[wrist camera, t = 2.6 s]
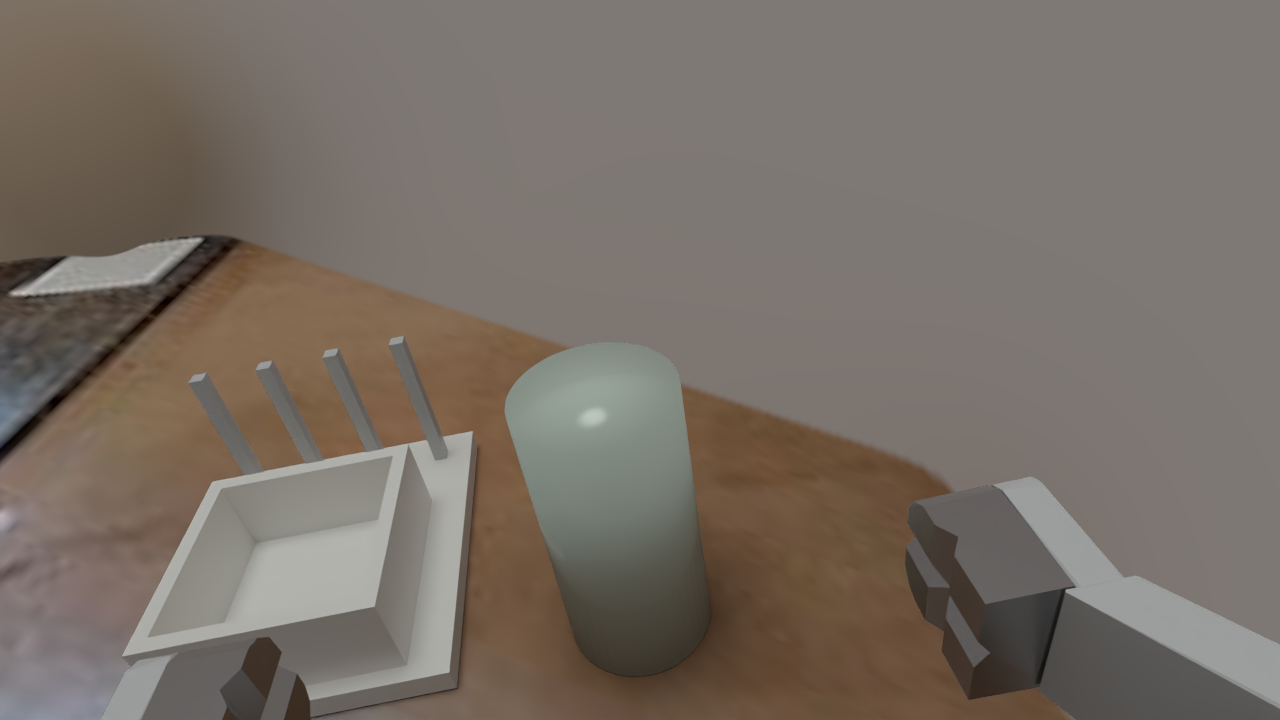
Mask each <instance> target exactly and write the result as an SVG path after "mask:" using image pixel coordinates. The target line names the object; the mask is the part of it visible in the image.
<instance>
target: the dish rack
mask: <svg viewBox="0 0 1280 720" xmlns="http://www.w3.org/2000/svg"><path fill="white" fill-rule="evenodd" d="M389 347H390V349H391V352H392V354H393V357H394V359H395V362H396V364H397V367H398V369H399V372H400V374H401V377H402V379H403V382H404V384H405V387H406V389H407V392H408V394H409V397H410V399H411V402H412V404H413V407H414V409H415V412H416V414H417V417H418V419H419V422H420V424H421V427H422V429H423V432H424V434H425V437H426V439H427V440H424V441H419V442H414V443H409V444H404V445H398V446H393V447H388V448H383V446H382V444H381V441H380V439H379V437H378V435H377V433H376V430H375V428H374V426H373V424H372V421H371V419H370V417H369V415H368V413H367V410H366V408H365V406H364V404H363V401H362V399H361V397H360V395H359V393H358V390H357V388H356V386H355V384H354V381H353V379H352V377H351V375H350V372H349V370H348V368H347V366H346V364H345V361H344V359H343V357H342V355H341V352H340V350H339V348H337V349H331V350H326V351H325V353H324V355H323V360H324V362H325V364H326V367H327V369H328V371H329V373H330V375H331V377H332V379H333V382H334V384H335V386H336V388H337V390H338V392H339V394H340V396H341V399H342V401H343V403H344V405H345V407H346V409H347V411H348V414H349V416H350V418H351V420H352V422H353V424H354V426H355V428H356V431H357V433H358V435H359V437H360V439H361V441H362V443H363V446H364V448H365V450H366V452H362V453H357V454H351V455H346V456H341V457H336V458H330V459H325V460H324V459H323V457H322V455H321V453H320V451H319V449H318V447H317V445H316V443H315V441H314V439H313V437H312V435H311V433H310V432H309V430H308V428H307V426H306V424H305V422H304V420H303V418H302V416H301V414H300V412H299V410H298V408H297V406H296V404H295V403H294V401H293V399H292V397H291V395H290V393H289V391H288V389H287V387H286V385H285V383H284V381H283V379H282V377H281V375H280V374H279V372H278V370H277V368H276V366H275V364H274V362H273V361H267V362H262V363H259V365H258V367H257V369H256V372H257V374H258V376H259V378H260V380H261V382H262V383H263V385H264V387H265V389H266V391H267V393H268V395H269V396H270V398H271V400H272V402H273V404H274V406H275V408H276V409H277V411H278V413H279V415H280V417H281V419H282V421H283V422H284V424H285V426H286V428H287V430H288V432H289V434H290V435H291V437H292V439H293V441H294V443H295V445H296V447H297V448H298V450H299V452H300V454H301V456H302V458H303V460H304V461H305V463H304V464H299V465H294V466H289V467H283V468H278V469H273V470H268V471H264V470H263V468H262V466H261V465H260V463H259V461H258V460H257V458H256V456H255V455H254V453H253V451H252V449H251V448H250V446H249V444H248V443H247V441H246V439H245V437H244V436H243V434H242V432H241V431H240V429H239V427H238V426H237V424H236V422H235V420H234V419H233V417H232V415H231V414H230V412H229V410H228V408H227V407H226V405H225V403H224V402H223V400H222V398H221V397H220V395H219V393H218V391H217V390H216V388H215V386H214V385H213V383H212V381H211V379H210V378H209V376H208V374H207V373H203V374H198V375H193V377H192V378H191V380H190V381H189V385H190V387H191V388H192V390H193V392H194V393H195V395H196V396H197V398H198V400H199V401H200V403H201V405H202V406H203V408H204V410H205V411H206V413H207V415H208V416H209V418H210V419H211V421H212V423H213V424H214V426H215V428H216V429H217V431H218V433H219V434H220V436H221V437H222V439H223V441H224V442H225V444H226V446H227V447H228V449H229V451H230V452H231V454H232V456H233V457H234V459H235V460H236V462H237V464H238V465H239V467H240V469H241V470H242V472H243V474H244V476H240V477H235V478H229V479H224V480H219V481H214V482H212V484H211V485H210V487H209V489H208V491H207V493H206V495H205V497H204V499H203V501H202V503H201V505H200V507H199V509H198V511H197V512H196V514H195V516H194V518H193V520H192V522H191V524H190V526H189V528H188V530H187V532H186V534H185V536H184V538H183V539H182V541H181V543H180V545H179V547H178V549H177V551H176V553H175V555H174V557H173V559H172V561H171V563H170V565H169V566H168V568H167V570H166V572H165V574H164V576H163V578H162V580H161V582H160V584H159V586H158V588H157V590H156V592H155V594H154V595H153V597H152V599H151V601H150V603H149V605H148V607H147V609H146V611H145V613H144V615H143V617H142V619H141V621H140V622H139V624H138V626H137V628H136V630H135V632H134V634H133V636H132V638H131V640H130V642H129V644H128V646H127V648H126V649H125V651H124V653H123V655H122V657H123V658H124V659H125V661H126V662H127V663H128V664H129V665H130V666H131V667H132V666H133V665H134V664H135V663H136V662H137V661H138V660H142V659H147V658H152V657H158V656H163V655H168V654H173V653H179V652H183V651H188V650H194V649H199V648H205V647H210V646H216V645H222V644H227V643H233V642H238V641H244V640H249V639H255V638H262V637H270V638H271V640H272V641H273V642H274V643H275V644H276V646H277V647H278V648H279V649H280V651H281V652H282V654H281V657H280V660H279V663H278V666H280V667H283V668H285V669H288V670H290V671H292V672H295V673H297V674H298V676H299V677H300V678H301V680H302V681H303V683H304V684H305V686H306V690H307V693H308V696H309V699H310V717H315V716H320V715H325V714H330V713H335V712H340V711H345V710H350V709H354V708H359V707H364V706H369V705H374V704H379V703H384V702H389V701H394V700H399V699H404V698H409V697H414V696H419V695H424V694H429V693H434V692H439V691H444V690H449V689H454V688H457V682H458V670H459V659H460V647H461V635H462V624H463V612H464V601H465V589H466V577H467V566H468V554H469V542H470V531H471V519H472V507H473V496H474V484H475V472H476V461H477V449H478V445H477V442H476V439H475V436H474V433H473V431H471V432H466V433H461V434H456V435H451V436H445V437H443V436H442V433H441V431H440V428H439V426H438V423H437V420H436V418H435V415H434V413H433V410H432V407H431V405H430V402H429V400H428V397H427V394H426V392H425V389H424V387H423V384H422V381H421V379H420V376H419V374H418V371H417V368H416V366H415V363H414V361H413V358H412V355H411V353H410V350H409V348H408V345H407V342H406V340H405V337H404V336H401V337H396V338H391V340H390V343H389Z"/></svg>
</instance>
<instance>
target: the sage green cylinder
mask: <svg viewBox="0 0 1280 720" xmlns="http://www.w3.org/2000/svg"><path fill="white" fill-rule="evenodd" d="M505 417H506V420H507V424H508V427H509V430H510V433H511V436H512V440H513V443H514V446H515V449H516V452H517V456H518V459H519V462H520V465H521V468H522V471H523V475H524V478H525V481H526V484H527V487H528V491H529V494H530V497H531V500H532V503H533V507H534V510H535V513H536V516H537V519H538V523H539V526H540V529H541V532H542V535H543V539H544V542H545V545H546V548H547V551H548V554H549V558H550V561H551V564H552V567H553V570H554V574H555V577H556V580H557V583H558V586H559V590H560V593H561V596H562V599H563V602H564V606H565V609H566V612H567V615H568V618H569V622H570V625H571V628H572V631H573V634H574V637H575V640H576V643H577V645H578V647H579V648H580V650H581V651H582V653H583V654H584V655H585V657H586V658H588V659H589V660H590V661H591V662H592V663H593V664H595V665H596V666H598V667H599V668H601V669H603V670H605V671H608V672H611V673H613V674H617V675H622V676H633V677H635V676H647V675H652V674H656V673H659V672H663V671H665V670H667V669H670V668H672V667H674V666H675V665H677V664H679V663H680V662H682V661H683V660H684V659H686V658H687V657H688V656H689V655H690V654H691V653H692V652H693V651H694V650H695V649H696V648H697V646H698V645H699V644H700V642H701V641H702V639H703V637H704V635H705V633H706V631H707V628H708V625H709V621H710V612H711V611H710V600H709V592H708V585H707V577H706V570H705V562H704V555H703V548H702V540H701V533H700V525H699V518H698V510H697V503H696V495H695V488H694V481H693V473H692V466H691V458H690V451H689V443H688V436H687V429H686V421H685V414H684V406H683V399H682V391H681V384H680V378H679V374H678V372H677V370H676V368H675V366H674V365H673V364H672V363H671V361H670V360H669V359H667V358H666V357H665V356H664V355H662V354H660V353H659V352H657V351H655V350H653V349H650V348H647V347H644V346H640V345H636V344H631V343H621V342H604V343H594V344H588V345H583V346H578V347H574V348H571V349H568V350H565V351H562V352H559V353H557V354H554V355H552V356H550V357H548V358H546V359H544V360H542V361H541V362H539V363H537V364H536V365H534V366H533V367H532V368H530V369H529V370H528V371H526V372H525V373H524V374H523V375H522V376H521V377H520V378H519V379H518V380H517V381H516V382H515V384H514V385H513V387H512V388H511V390H510V392H509V394H508V396H507V399H506V402H505Z"/></svg>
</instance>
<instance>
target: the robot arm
mask: <svg viewBox="0 0 1280 720" xmlns="http://www.w3.org/2000/svg"><path fill="white" fill-rule="evenodd" d="M908 524H909V526H910V528H911V530H912V531H913V533H914V535H915V537H914V538H913V540H912V541H911V542H910V543H909V544H908V545H907V546H906V561H905V566H906V571H907V576H908V580H909V585H910V588H911V591H912V593H913V596H914V598H915V601H916V603H917V605H918V607H919V609H920V611H921V613H922V615H923V617H924V619H925V620H926V621H928V622H929V623H931V624H933V625H934V626H936V627H937V628H939V629H940V630H942V631H944V636H943V645H942V652H943V654H944V656H945V658H946V660H947V661H948V663H949V665H950V667H951V669H952V671H953V672H954V674H955V676H956V678H957V680H958V682H959V683H960V685H961V687H962V689H963V691H964V693H965V694H966V696H967V698H968V700H972V699H977V698H982V697H988V696H993V695H999V694H1004V693H1010V692H1015V691H1021V690H1026V689H1032V688H1037V687H1039V692H1040V693H1042V694H1043V695H1044V696H1046V697H1047V698H1048V699H1050V700H1051V701H1052V702H1054V703H1055V704H1056V705H1058V706H1059V707H1060V708H1062V709H1063V710H1064V711H1066V712H1067V713H1068V714H1069V715H1071V716H1072V717H1073V718H1075V719H1076V720H1280V645H1279V644H1277V643H1275V642H1273V641H1271V640H1269V639H1267V638H1265V637H1263V636H1261V635H1258V634H1256V633H1255V632H1253V631H1250V630H1248V629H1246V628H1244V627H1242V626H1240V625H1238V624H1236V623H1234V622H1232V621H1230V620H1228V619H1225V618H1224V617H1221V616H1219V615H1217V614H1215V613H1213V612H1211V611H1209V610H1207V609H1205V608H1203V607H1201V606H1199V605H1197V604H1195V603H1193V602H1191V601H1188V600H1186V599H1184V598H1182V597H1180V596H1178V595H1176V594H1174V593H1172V592H1170V591H1168V590H1166V589H1164V588H1162V587H1160V586H1158V585H1156V584H1154V583H1151V582H1149V581H1147V580H1145V579H1143V578H1141V577H1139V576H1137V575H1136V576H1130V577H1123V576H1122V575H1121V573H1120V572H1119V571H1118V570H1117V569H1116V568H1115V566H1114V565H1113V564H1112V563H1111V562H1110V561H1109V560H1108V558H1107V557H1106V556H1105V555H1104V554H1103V553H1102V552H1101V550H1100V549H1099V548H1098V547H1097V546H1096V545H1095V544H1094V542H1093V541H1092V540H1091V539H1090V538H1089V537H1088V535H1087V534H1086V533H1085V532H1084V531H1083V530H1082V528H1081V527H1080V526H1079V525H1078V524H1077V523H1076V522H1075V521H1074V519H1073V518H1072V517H1071V516H1070V515H1069V514H1068V512H1067V511H1066V510H1065V509H1064V508H1063V507H1062V506H1061V504H1060V503H1059V502H1058V501H1057V500H1056V499H1055V497H1054V496H1053V495H1052V494H1051V493H1050V492H1049V491H1048V489H1047V488H1046V487H1045V486H1044V485H1043V484H1042V482H1041V481H1039V480H1037V479H1035V478H1033V477H1028V478H1023V479H1018V480H1013V481H1009V482H1004V483H999V484H994V485H991V486H982V487H977V488H973V489H968V490H964V491H959V492H954V493H950V494H945V495H941V496H936V497H932V498H927V499H923V500H918V501H913V503H912V505H911V506H910V508H909V514H908ZM281 654H282V652H281V651H280V649H279V648H278V647H277V646H276V644H275V643H274V642H273V641H272V640H271V638H270V637H262V638H255V639H249V640H244V641H238V642H233V643H227V644H222V645H216V646H210V647H205V648H199V649H194V650H188V651H183V652H179V653H173V654H168V655H163V656H158V657H152V658H147V659H142V660H138V661H137V662H136V663H135V664H134V665H133V666H132V667H131V668H129V669H128V670H127V671H126V672H125V674H124V676H123V677H122V679H121V681H120V683H119V685H118V687H117V689H116V691H115V693H114V695H113V697H112V699H111V701H110V703H109V705H108V706H107V708H106V710H105V712H104V714H103V716H102V718H101V720H310V699H309V696H308V693H307V690H306V686H305V684H304V683H303V681H302V680H301V678H300V677H299V676H298V674H297V673H295V672H292V671H290V670H288V669H285V668H283V667H280V666H278V663H279V660H280V657H281Z"/></svg>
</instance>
